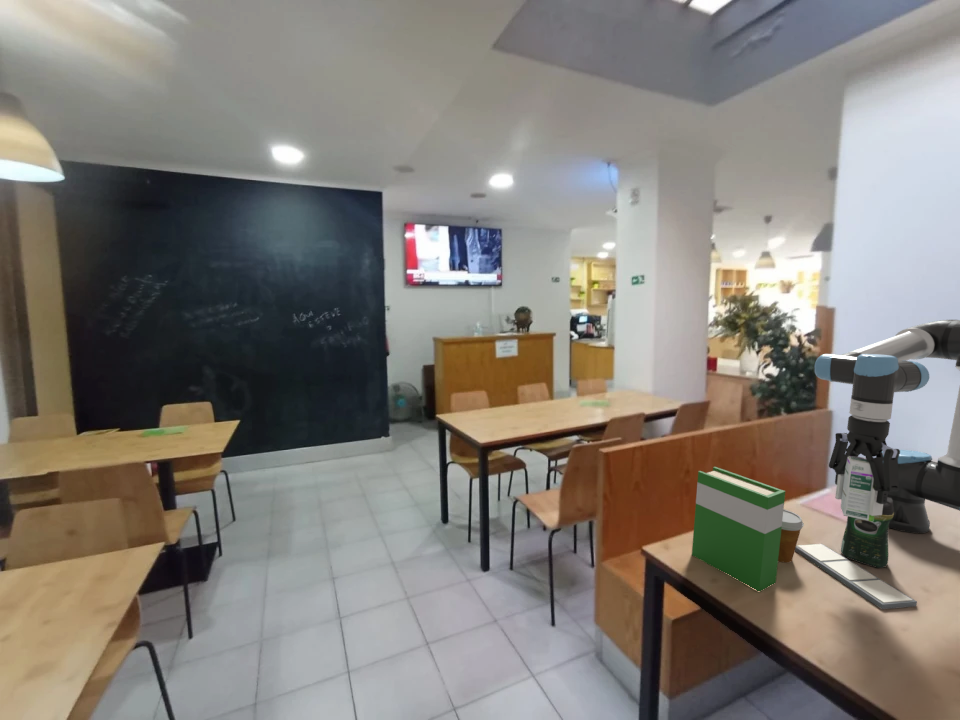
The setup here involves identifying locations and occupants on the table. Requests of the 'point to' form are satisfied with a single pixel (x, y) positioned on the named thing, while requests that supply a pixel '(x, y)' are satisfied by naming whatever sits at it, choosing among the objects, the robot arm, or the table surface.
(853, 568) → the board
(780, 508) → the hardback book
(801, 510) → the table surface
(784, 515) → the disposable coffee cup
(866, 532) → the coffee jar
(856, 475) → the syrup box
